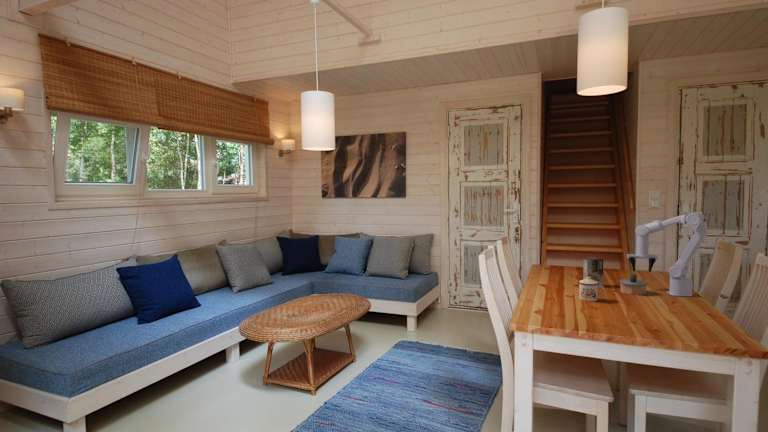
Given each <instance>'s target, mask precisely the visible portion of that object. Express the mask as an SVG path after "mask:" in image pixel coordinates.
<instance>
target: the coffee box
mask: <svg viewBox="0 0 768 432" xmlns="http://www.w3.org/2000/svg"><path fill="white" fill-rule="evenodd" d="M582 264H583V266H582V268H583V272H582V273H583V276H582V277H583V278H582V280H583V279H586V278H587V277H591V279H593V280H594V281H597V282H598V283H599V284H598V286H602V287H604V259H603V258H601V257H596V256H595V257H593V256H592V257H583V263H582Z"/></svg>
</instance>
